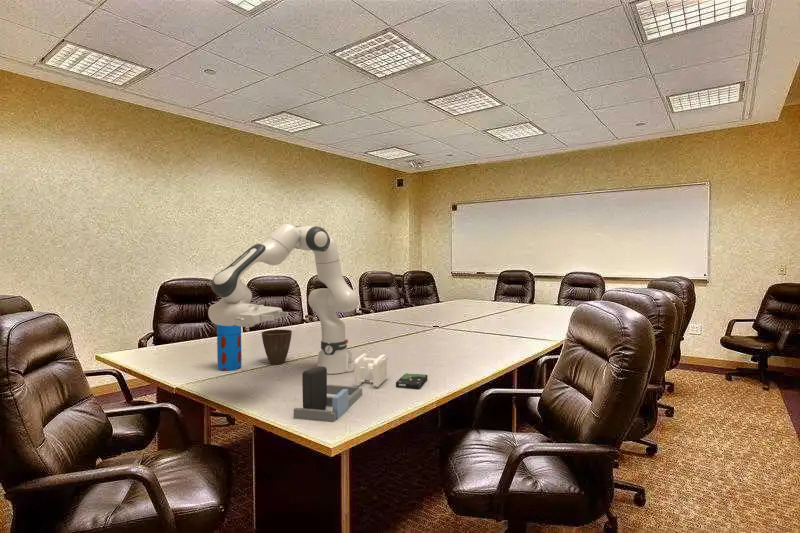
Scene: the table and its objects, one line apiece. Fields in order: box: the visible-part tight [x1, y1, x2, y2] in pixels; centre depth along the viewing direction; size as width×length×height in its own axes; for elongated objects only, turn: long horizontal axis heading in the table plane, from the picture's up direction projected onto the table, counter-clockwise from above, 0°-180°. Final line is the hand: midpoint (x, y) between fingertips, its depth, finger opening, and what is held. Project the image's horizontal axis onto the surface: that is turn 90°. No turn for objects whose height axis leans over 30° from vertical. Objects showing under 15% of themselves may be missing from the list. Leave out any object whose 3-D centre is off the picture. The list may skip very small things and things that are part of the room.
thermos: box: [216, 324, 243, 372], centre depth 210 cm, size 11×11×25 cm
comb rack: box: [293, 384, 363, 423], centre depth 157 cm, size 28×15×7 cm, turn 166°
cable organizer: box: [353, 352, 389, 388], centre depth 184 cm, size 15×11×12 cm
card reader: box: [301, 365, 328, 410], centre depth 151 cm, size 9×4×15 cm, turn 148°
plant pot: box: [261, 329, 293, 366], centre depth 220 cm, size 15×15×16 cm
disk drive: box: [395, 372, 428, 390], centre depth 184 cm, size 10×3×15 cm
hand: (280, 316), depth 161 cm, fingers open, 8 cm apart
